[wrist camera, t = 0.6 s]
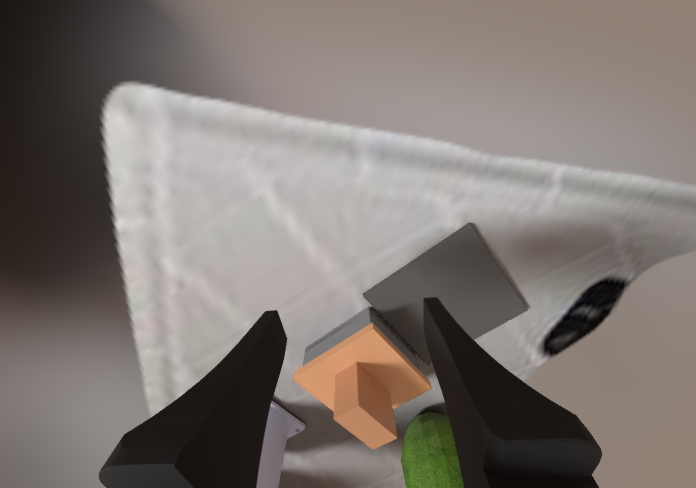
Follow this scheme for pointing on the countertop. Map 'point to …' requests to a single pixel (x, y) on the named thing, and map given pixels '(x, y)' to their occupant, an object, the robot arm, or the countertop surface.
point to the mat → (448, 290)
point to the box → (350, 329)
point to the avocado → (430, 453)
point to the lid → (364, 384)
